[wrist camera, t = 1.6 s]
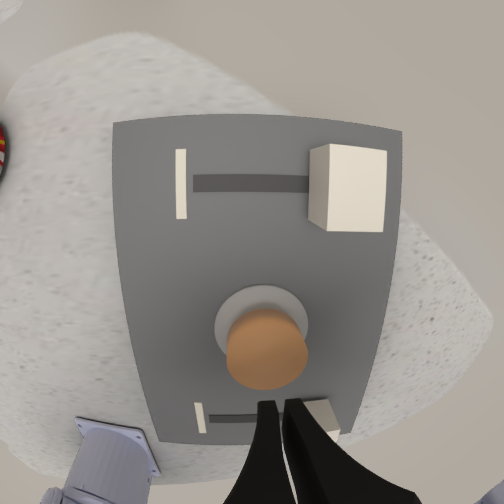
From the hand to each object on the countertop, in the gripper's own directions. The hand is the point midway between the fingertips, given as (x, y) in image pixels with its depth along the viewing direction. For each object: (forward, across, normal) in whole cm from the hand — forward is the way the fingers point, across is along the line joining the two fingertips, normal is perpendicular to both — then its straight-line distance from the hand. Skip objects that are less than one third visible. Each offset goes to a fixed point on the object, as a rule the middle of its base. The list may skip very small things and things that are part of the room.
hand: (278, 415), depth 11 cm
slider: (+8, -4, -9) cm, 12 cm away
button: (+6, 0, 0) cm, 6 cm away
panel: (+9, 0, 0) cm, 9 cm away
